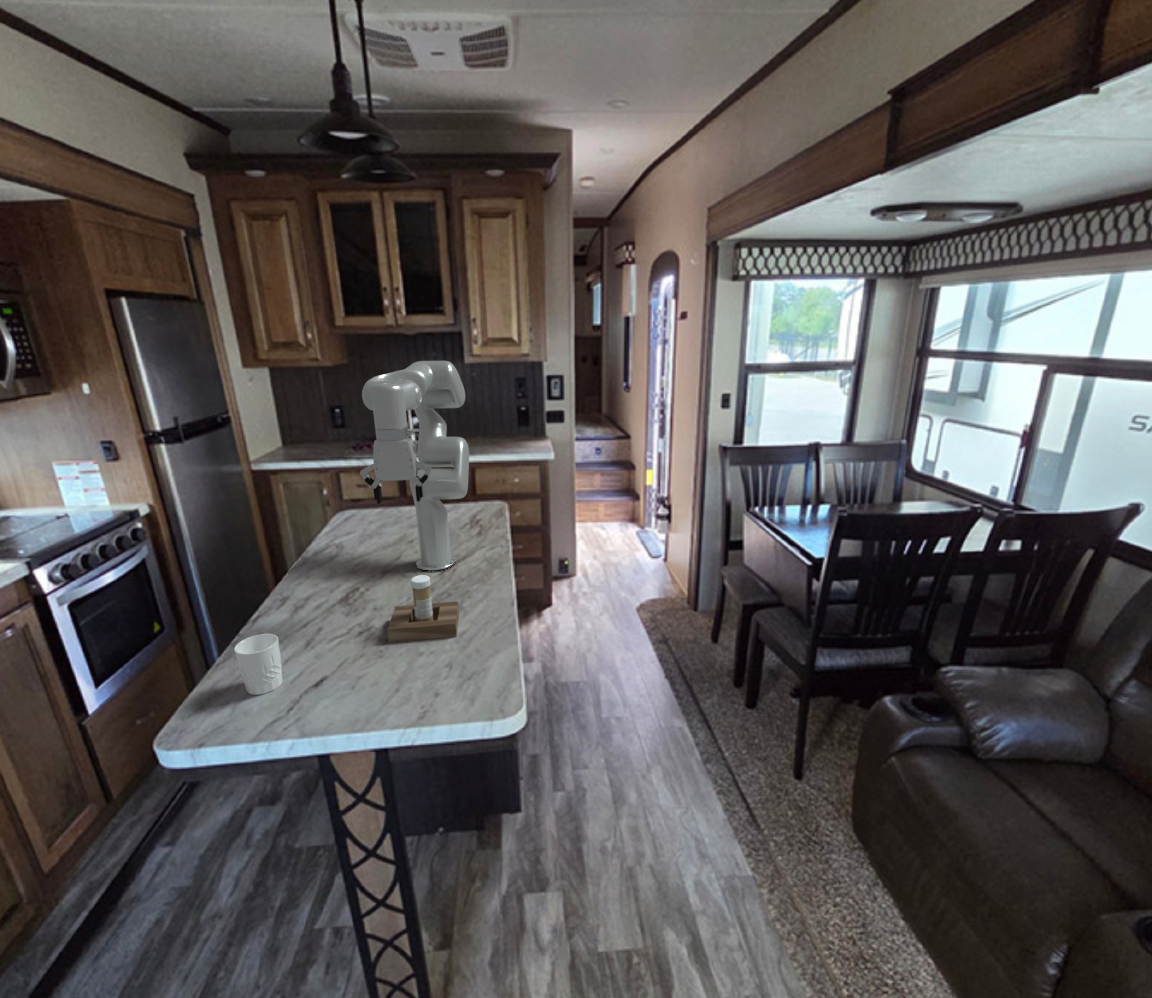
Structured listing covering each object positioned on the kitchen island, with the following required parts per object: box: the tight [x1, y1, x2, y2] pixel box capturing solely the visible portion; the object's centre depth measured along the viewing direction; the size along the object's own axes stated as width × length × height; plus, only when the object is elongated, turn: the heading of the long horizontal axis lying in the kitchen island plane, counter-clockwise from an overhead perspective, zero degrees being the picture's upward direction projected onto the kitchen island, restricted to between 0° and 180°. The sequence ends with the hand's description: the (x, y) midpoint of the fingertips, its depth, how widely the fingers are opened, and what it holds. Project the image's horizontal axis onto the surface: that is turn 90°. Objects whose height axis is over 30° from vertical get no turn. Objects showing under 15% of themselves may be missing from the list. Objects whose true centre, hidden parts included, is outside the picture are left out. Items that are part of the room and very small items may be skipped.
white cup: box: [233, 633, 284, 696], centre depth 113 cm, size 8×8×10 cm
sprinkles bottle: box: [410, 574, 434, 622], centre depth 135 cm, size 5×5×14 cm
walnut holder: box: [386, 600, 460, 643], centre depth 136 cm, size 12×16×4 cm
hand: (399, 501), depth 138 cm, fingers open, 9 cm apart
